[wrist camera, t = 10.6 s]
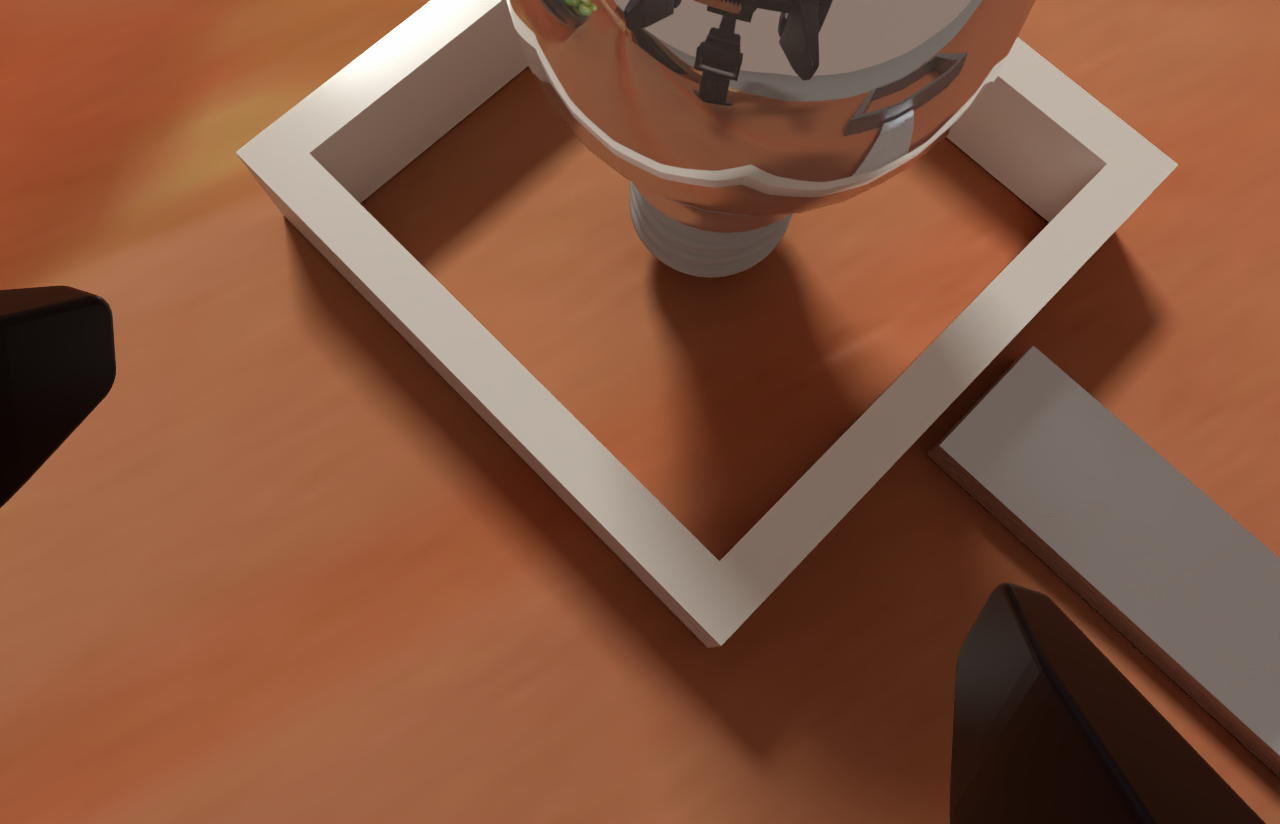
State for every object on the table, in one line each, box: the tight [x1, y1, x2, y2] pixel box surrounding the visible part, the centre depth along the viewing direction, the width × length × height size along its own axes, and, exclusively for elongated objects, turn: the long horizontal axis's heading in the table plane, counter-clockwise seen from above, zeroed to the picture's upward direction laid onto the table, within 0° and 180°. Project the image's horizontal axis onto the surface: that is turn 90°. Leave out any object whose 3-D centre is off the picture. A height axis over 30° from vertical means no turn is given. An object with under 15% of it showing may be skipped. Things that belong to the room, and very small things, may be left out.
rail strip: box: [926, 345, 1280, 778], centre depth 18 cm, size 3×9×1 cm, turn 45°
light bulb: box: [506, 0, 1035, 278], centre depth 14 cm, size 7×7×12 cm
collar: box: [236, 0, 1178, 648], centre depth 19 cm, size 13×13×2 cm
